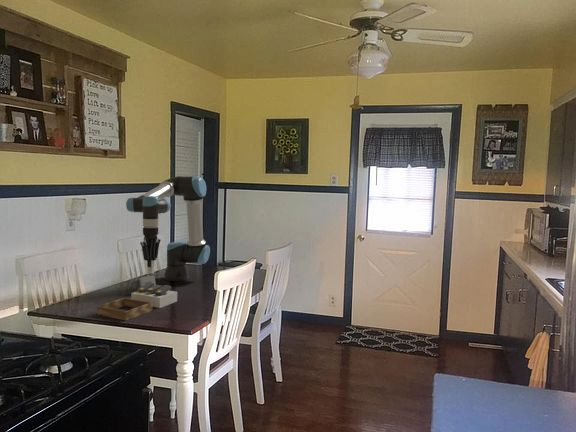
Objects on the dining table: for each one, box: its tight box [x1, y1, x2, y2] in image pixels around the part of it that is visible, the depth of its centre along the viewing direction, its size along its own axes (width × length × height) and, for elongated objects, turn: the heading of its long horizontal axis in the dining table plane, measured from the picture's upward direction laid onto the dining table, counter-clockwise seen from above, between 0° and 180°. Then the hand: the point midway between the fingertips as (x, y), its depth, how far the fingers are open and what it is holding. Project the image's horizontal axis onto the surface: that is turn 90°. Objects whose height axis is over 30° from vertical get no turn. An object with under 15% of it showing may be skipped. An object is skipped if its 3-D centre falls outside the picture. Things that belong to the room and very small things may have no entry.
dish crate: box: [96, 297, 154, 321], centre depth 229 cm, size 18×18×4 cm
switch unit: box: [130, 290, 178, 309], centre depth 248 cm, size 14×18×6 cm
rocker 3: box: [155, 284, 172, 296], centre depth 245 cm, size 8×4×2 cm, turn 156°
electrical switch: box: [137, 275, 157, 289], centre depth 267 cm, size 9×5×9 cm, turn 141°
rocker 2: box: [146, 284, 163, 293], centre depth 248 cm, size 8×4×2 cm, turn 156°
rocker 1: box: [137, 283, 154, 293], centre depth 250 cm, size 8×4×2 cm, turn 156°
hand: (150, 273), depth 244 cm, fingers closed
